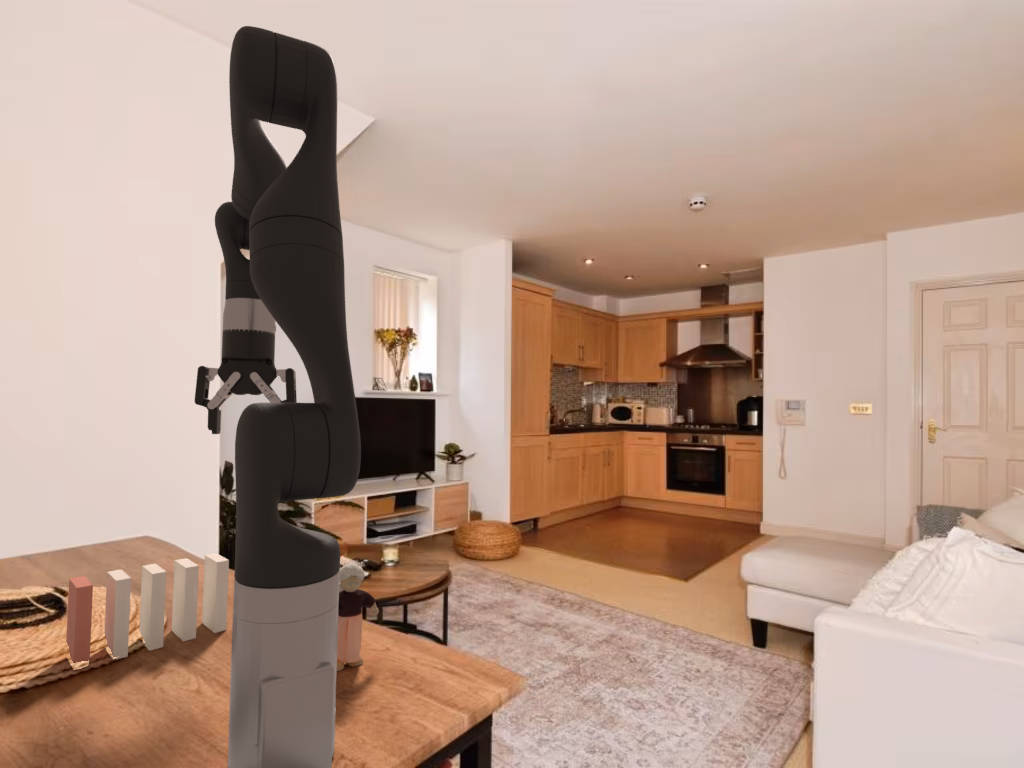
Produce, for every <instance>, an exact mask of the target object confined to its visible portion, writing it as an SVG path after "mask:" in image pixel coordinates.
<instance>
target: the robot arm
mask: <svg viewBox="0 0 1024 768" xmlns="http://www.w3.org/2000/svg"><path fill="white" fill-rule="evenodd" d="M229 58H230V60H229V72H228V73H229V75H228V77H229V78H228V79H229V82H228V83H229V87H228V88H229V107H230V108H229V109H230V113H229V114H230V127H231V137H232V138H231V139H232V146H233V157H234V161H233V165H234V167H233V175H232V176H233V177H232V185H231V195H230V196H231V197H230V199H231V201H226V202H223V203H222V204H221V205H220V206H219V207H218V208H217V210H216V211H215V215H214V226H215V232H216V235H217V238H218V243H219V244H220V248H221V252H222V256H223V260H224V267H225V297H224V298H225V302H224V308H223V313H222V334H221V335H222V337H221V338H222V339H221V363H220V365H219V367H208V366H205V365H199V366H198V367H197V372H196V373H197V374H196V384H195V393H194V404H195V405H197V406H201V407H204V408H206V409H207V413H208V414H207V428H208V431H211V434H212V435H220V434H221V427H222V423H221V422H222V409H220V408H221V406H222V405H223V404H224V403H225V402H226V401H227V400H228V399H229V398H230V397H231V396H232V395H233V394H234V395H237V396H244V395H245V396H246V395H250V396H260V395H262V394H263V395H264V397H265V398H266V399H267V400H268V402H255V403H251V404H249V405H247V406H246V407H245V408H244V409H243V410H242V412H241V414H240V416H239V418H238V422H237V424H236V425H237V426H236V432H235V441H234V471H235V472H234V473H235V474H234V475H235V509H236V512H235V513H236V514H235V547H234V548H235V552H234V553H235V555H234V575H233V576H234V579H233V585H234V586H233V602H232V603H233V607H232V628H231V629H232V631H231V652H230V653H231V657H230V660H231V661H230V678H229V679H230V683H229V685H230V686H229V709H228V710H229V711H228V741H227V742H228V745H227V746H228V749H227V768H332V766H333V765H332V764H333V763H332V762H333V761H332V759H333V757H334V754H335V753H334V752H335V744H336V743H335V739H336V737H335V735H336V708H337V707H336V704H337V703H336V699H337V697H336V695H337V672H338V671H337V638H338V604H339V577H340V569H341V547H340V543H339V541H338V540H337V539H336V538H335V537H333V536H331V535H330V534H327V533H325V532H320V531H317V530H312V529H308V528H303V527H299V526H296V525H293V524H291V523H290V522H287V521H286V520H284V519H283V518H282V517H280V513H279V506H278V505H279V504H278V503H279V502H289V501H290V502H292V501H304V500H305V501H306V500H315V499H327V498H337V497H342V496H343V497H344V496H346V495H348V494H349V493H351V492H352V490H354V488H355V486H356V485H357V483H358V479H359V477H360V471H361V461H362V459H361V458H362V444H361V430H360V423H359V416H358V407H357V401H356V393H355V388H354V387H355V386H354V380H353V373H352V365H351V357H350V351H349V342H348V330H347V329H348V328H347V315H346V286H345V285H346V283H345V279H346V278H345V277H346V276H345V259H344V258H345V257H344V256H345V255H344V239H343V237H344V236H343V227H342V220H341V209H340V198H339V196H340V195H339V183H338V166H337V165H338V164H337V161H338V159H337V157H338V156H337V151H338V148H337V145H338V143H337V141H338V77H337V70H336V66H335V62H334V59H333V56H332V55H331V54H330V52H329V51H328V50H327V49H325V48H323V47H321V46H319V45H317V44H316V43H315V44H314V43H312V42H309V41H306V40H302V39H298V38H295V37H292V36H289V35H286V34H282V33H279V32H277V31H276V32H274V31H271V30H268V29H267V28H266V29H265V28H262V27H257V26H250V25H245V26H241V27H239V29H238V30H237V31H236V33H235V34H234V37H233V40H232V45H231V49H230V57H229ZM261 122H264V123H269V124H273V125H277V126H282V127H285V128H290V129H294V130H299V131H302V132H303V133H304V135H305V138H304V140H303V142H302V145H301V146H300V148H299V150H298V151H297V153H296V154H295V156H294V158H293V159H292V160H291V162H290V163H289V165H288V166H286V163H285V160H284V159H283V157H282V155H281V153H280V152H279V150H278V149H277V147H276V146H275V144H274V143H273V142H272V141H271V139H270V137H269V136H268V133H266V131H265V129H264V128H263V126H262V124H261ZM241 250H247V251H249V259H248V258H247V257H246V256H245V255H244V254H243V253H242V251H241ZM276 323H277V325H278V326H279V327H280V329H281V330H282V331H283V333H284V334H285V336H286V337H287V338H288V340H289V341H290V342H291V344H292V346H293V347H294V349H295V350H296V352H297V354H298V355H299V357H300V359H301V361H302V363H303V366H304V369H305V371H306V374H307V376H308V379H309V382H310V387H311V390H312V395H313V402H297V379H296V371H295V369H293V368H291V367H288V368H285V369H281V368H280V369H278V368H277V367H276V366H275V365H276V364H275V350H276V332H277V325H276ZM216 376H218V377H219V378H220V380H221V381H222V382H223V384H222V386H221V387H220V388H219V389H218V390H217V392H216V393H215V395H214V396H213V397H212V398H211V399H210V398H209V393H210V384H211V383H210V382H213V381H214V380H215V377H216ZM277 377H279V378H280V380H281V382H282V383H285V394H286V397H285V398H286V399H284V400H281V398H280V397H279V396H278V394H277V392H276V391H275V390H274V389H273V387H272V386H271V385H272V383H273V382H274V381H275V380H276V378H277Z"/></svg>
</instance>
